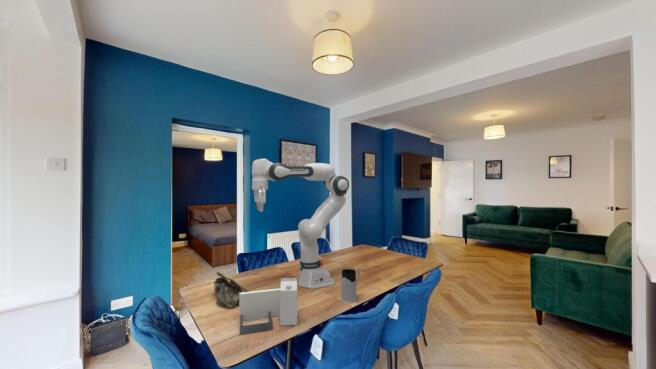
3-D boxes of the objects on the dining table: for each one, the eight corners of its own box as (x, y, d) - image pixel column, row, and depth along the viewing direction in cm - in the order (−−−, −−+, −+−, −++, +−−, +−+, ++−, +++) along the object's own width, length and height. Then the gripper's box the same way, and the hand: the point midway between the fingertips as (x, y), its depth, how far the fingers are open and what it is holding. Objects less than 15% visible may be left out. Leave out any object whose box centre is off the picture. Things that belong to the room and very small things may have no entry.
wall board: (296, 311, 127) (296, 286, 127) (297, 313, 125) (297, 287, 125) (239, 319, 119) (239, 292, 119) (239, 321, 117) (239, 294, 117)
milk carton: (281, 317, 121) (281, 275, 121) (297, 317, 121) (297, 275, 121) (280, 325, 114) (280, 281, 114) (296, 325, 114) (296, 281, 114)
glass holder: (337, 300, 140) (337, 271, 140) (352, 291, 151) (352, 265, 151) (350, 304, 134) (350, 275, 134) (365, 295, 145) (365, 268, 145)
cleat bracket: (270, 317, 120) (270, 311, 121) (272, 329, 110) (272, 322, 110) (240, 322, 117) (240, 315, 117) (239, 334, 107) (239, 327, 107)
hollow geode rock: (220, 299, 152) (200, 284, 146) (236, 280, 157) (217, 264, 152) (234, 317, 129) (211, 300, 123) (252, 294, 135) (231, 276, 129)
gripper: (268, 186, 143) (268, 212, 143) (263, 186, 162) (263, 209, 162) (256, 186, 141) (256, 212, 141) (252, 186, 160) (252, 209, 160)
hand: (260, 210), depth 152 cm, fingers open, 8 cm apart
